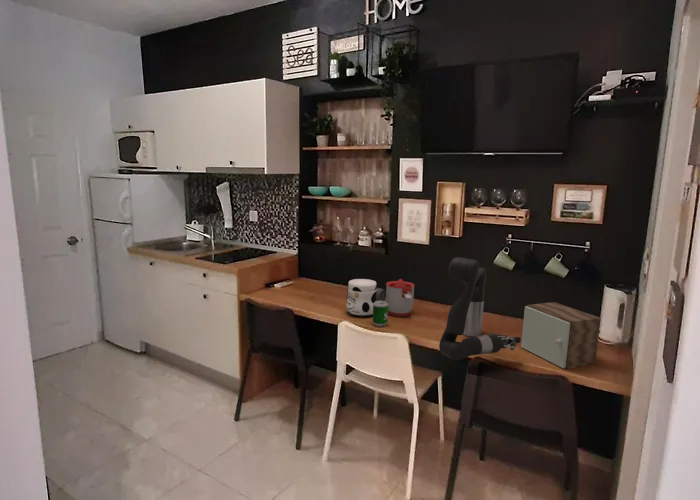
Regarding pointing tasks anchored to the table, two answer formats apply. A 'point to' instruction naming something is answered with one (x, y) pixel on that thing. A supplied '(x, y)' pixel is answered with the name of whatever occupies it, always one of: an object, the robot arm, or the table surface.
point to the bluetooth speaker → (380, 294)
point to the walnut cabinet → (576, 332)
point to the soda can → (380, 313)
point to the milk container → (361, 297)
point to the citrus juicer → (399, 297)
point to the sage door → (545, 336)
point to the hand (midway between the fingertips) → (519, 339)
